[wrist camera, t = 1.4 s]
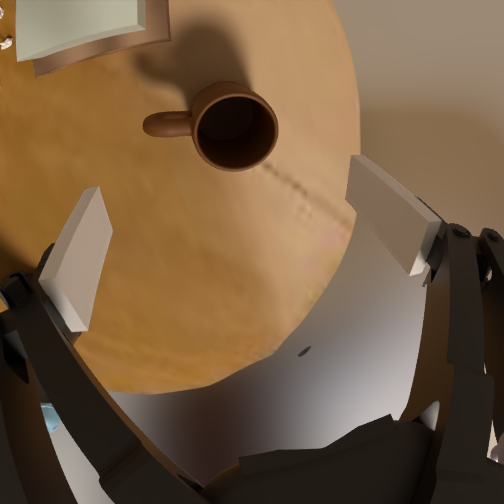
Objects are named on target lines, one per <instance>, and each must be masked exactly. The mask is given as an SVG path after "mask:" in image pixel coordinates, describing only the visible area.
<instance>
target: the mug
mask: <svg viewBox="0 0 504 504" xmlns="http://www.w3.org/2000/svg"><path fill="white" fill-rule="evenodd" d="M143 130H144V131H145V133H147V134H148V135H150V136H153V137H178V136H192V139H193V142H194V144H195V147H196V149H197V152H198V153H199V155H200V156H201V157H202V158H203V160H205V161H206V162H207V163H208V164H210V165H211V166H213V167H215V168H217V169H220V170H223V171H230V172H237V171H243V170H247V169H250V168H253V167H254V166H256V165H258V164H260V163H261V162H262V161H263V160H265V159H266V158H267V157H268V156H269V154H270V153H271V152H272V150H273V148H274V146H275V144H276V141H277V138H278V121H277V118H276V115H275V113H274V111H273V110H272V108H271V107H270V106H269V104H268V103H267V102H266V101H265V100H264V99H263V98H262V97H261V96H259V95H258V94H256V93H255V92H253V91H251V90H250V89H248V88H246V87H244V86H242V85H239V84H236V83H232V82H219V83H215V84H213V85H210V86H208V87H207V88H205V89H204V90H202V91H201V92H200V93H199V94H198V96H197V97H196V99H195V100H194V102H193V105H192V108H191V110H189V111H172V112H160V113H155V114H152V115H150V116H148V117H147V118H145V120H144V121H143Z"/></svg>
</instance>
